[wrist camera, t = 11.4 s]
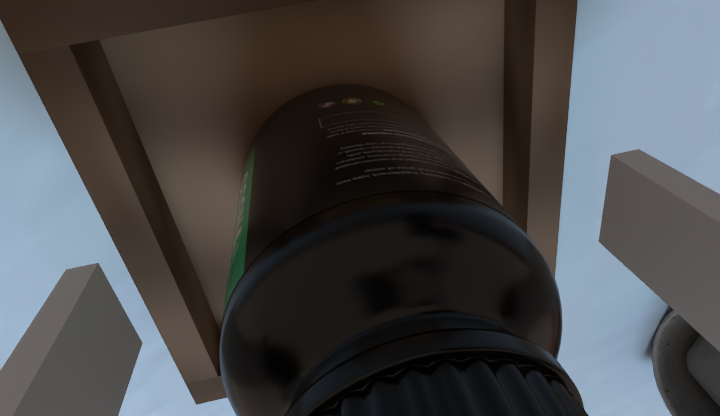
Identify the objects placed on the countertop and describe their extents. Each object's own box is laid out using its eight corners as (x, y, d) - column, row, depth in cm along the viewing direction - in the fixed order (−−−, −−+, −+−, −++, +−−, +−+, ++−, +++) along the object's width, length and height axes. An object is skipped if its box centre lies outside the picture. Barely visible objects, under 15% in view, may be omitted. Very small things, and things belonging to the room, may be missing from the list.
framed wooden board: (-82, -262, 10) (-198, -332, 8) (547, -346, 11) (627, -433, 9) (201, 353, 20) (191, 411, 18) (523, 279, 21) (557, 323, 19)
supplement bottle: (199, 175, 15) (51, 634, 5) (352, 32, 14) (579, 263, 4) (334, 285, 19) (412, 705, 8) (470, 177, 17) (770, 520, 7)
